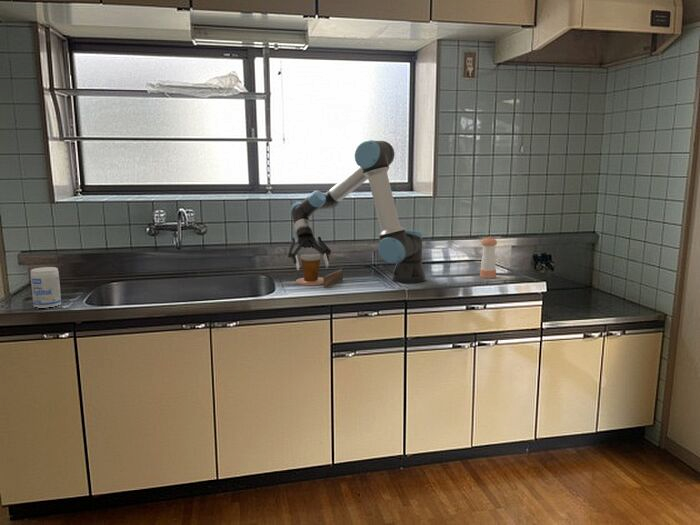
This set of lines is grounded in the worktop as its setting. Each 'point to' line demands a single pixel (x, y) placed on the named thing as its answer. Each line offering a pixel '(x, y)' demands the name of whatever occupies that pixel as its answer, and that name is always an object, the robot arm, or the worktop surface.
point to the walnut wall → (333, 278)
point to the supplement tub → (45, 287)
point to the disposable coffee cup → (310, 266)
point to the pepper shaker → (488, 258)
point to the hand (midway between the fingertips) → (313, 267)
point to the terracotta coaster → (303, 282)
